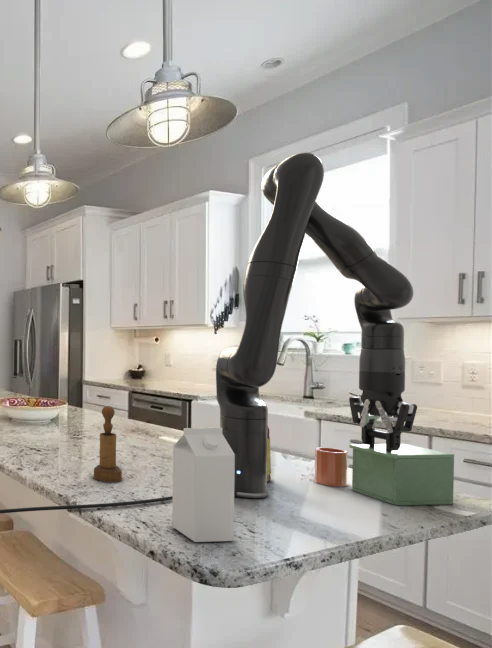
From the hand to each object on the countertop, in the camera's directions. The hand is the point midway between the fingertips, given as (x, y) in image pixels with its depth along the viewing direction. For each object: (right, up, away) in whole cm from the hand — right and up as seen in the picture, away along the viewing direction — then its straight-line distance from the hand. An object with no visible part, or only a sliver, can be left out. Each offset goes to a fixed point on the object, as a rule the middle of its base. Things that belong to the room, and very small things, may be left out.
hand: (380, 446), depth 109 cm
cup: (-2, -11, +11) cm, 16 cm away
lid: (+4, -1, 0) cm, 5 cm away
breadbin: (+5, -11, +1) cm, 12 cm away
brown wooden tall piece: (-55, -11, +15) cm, 58 cm away
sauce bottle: (-18, -11, +14) cm, 26 cm away
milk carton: (-50, -12, -20) cm, 55 cm away
